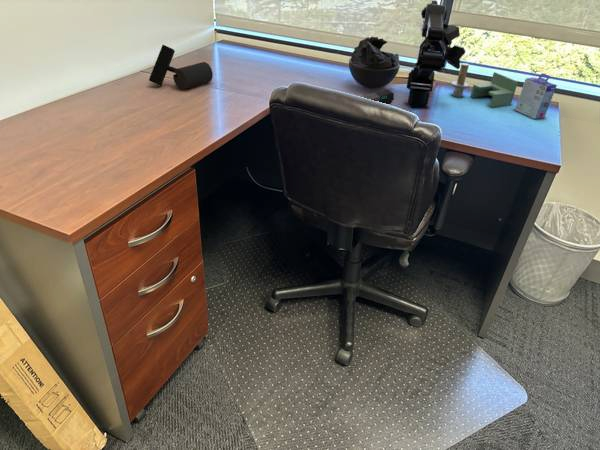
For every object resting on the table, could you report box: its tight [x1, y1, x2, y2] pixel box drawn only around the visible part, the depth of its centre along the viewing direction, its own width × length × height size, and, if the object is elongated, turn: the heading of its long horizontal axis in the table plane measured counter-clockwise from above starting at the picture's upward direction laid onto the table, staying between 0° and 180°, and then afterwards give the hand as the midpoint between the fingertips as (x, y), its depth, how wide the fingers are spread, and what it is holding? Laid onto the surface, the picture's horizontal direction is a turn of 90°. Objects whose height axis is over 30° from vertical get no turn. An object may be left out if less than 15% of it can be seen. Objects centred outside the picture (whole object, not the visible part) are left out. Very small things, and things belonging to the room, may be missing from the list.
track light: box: [148, 44, 214, 91], centre depth 178 cm, size 15×14×20 cm
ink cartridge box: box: [514, 72, 558, 120], centre depth 169 cm, size 10×6×14 cm, turn 28°
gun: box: [361, 88, 395, 105], centre depth 166 cm, size 4×20×10 cm, turn 109°
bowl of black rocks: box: [348, 36, 401, 90], centre depth 184 cm, size 20×20×19 cm
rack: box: [470, 71, 519, 108], centre depth 181 cm, size 10×12×9 cm
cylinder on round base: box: [450, 62, 470, 98], centre depth 183 cm, size 7×7×12 cm
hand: (450, 64), depth 177 cm, fingers open, 9 cm apart
